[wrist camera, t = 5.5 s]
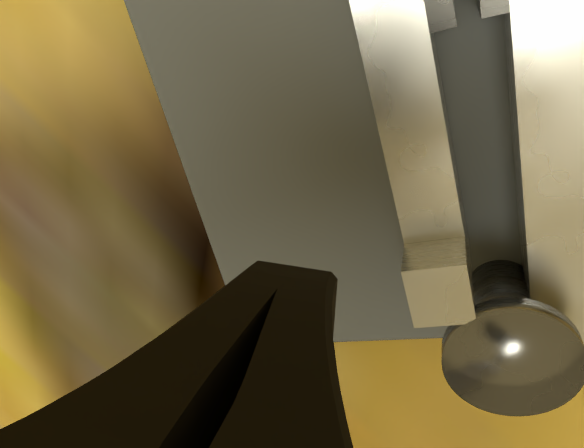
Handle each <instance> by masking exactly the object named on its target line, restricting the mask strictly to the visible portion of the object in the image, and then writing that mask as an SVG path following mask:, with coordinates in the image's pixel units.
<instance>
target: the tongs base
mask: <svg viewBox="0 0 584 448" xmlns="http://www.w3.org/2000/svg"><path fill="white" fill-rule="evenodd" d="M476 4H477V8H478V11H479V14H480V16H481V19H482V18H487V17H491V16H496V15H500V14H503V22H504V35H505V48H506V61H507V74H508V87H509V100H510V113H511V127H512V140H513V153H514V166H515V179H516V192H517V205H518V218H519V231H520V244H521V257H522V266H521V265H520V264H518V263H515V262H512V261H508V260H494V261H489V262H486V263H484V264H482V265H480V266H479V267H477V268H476V269H475V270H474V271H473V272H472V281H473V288H474V295H475V304H477V303H480V302H483V301H487V300H491V299H496V298H506V297H516V298H526V299H532V300H535V301H539V302H542V303H545V304H547V305H550V306H552V307H553V308H555V309H557V310H559V311H560V312H562V313H563V314H564V315H566V316H567V317H568V318H569V319H570V320H571V321H572V322H573V324H574V325H575V326H576V328H577V329H578V331H579V333H580V335H581V338H582V341H583V344H584V0H476Z"/></svg>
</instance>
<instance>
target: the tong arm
mask: <svg viewBox="0 0 584 448" xmlns="http://www.w3.org/2000/svg"><path fill="white" fill-rule="evenodd" d="M349 4H350V8H351V12H352V17H353V21H354V26H355V30H356V34H357V39H358V43H359V48H360V52H361V56H362V61H363V65H364V70H365V74H366V78H367V83H368V87H369V92H370V96H371V100H372V105H373V109H374V114H375V118H376V122H377V127H378V131H379V136H380V140H381V144H382V149H383V153H384V158H385V162H386V166H387V171H388V175H389V180H390V184H391V188H392V193H393V197H394V202H395V206H396V210H397V215H398V219H399V224H400V228H401V232H402V237H403V241H404V249H403V257H402V266H401V275H402V279H403V284H404V288H405V292H406V296H407V301H408V305H409V309H410V313H411V317H412V322H413V326H414V328H424V327H437V326H448V327H447V329H446V331H445V334H444V336H443V340H442V370H443V373H444V376H445V378H446V380H447V382H448V384H449V385H450V387H451V388H452V389H453V391H454V392H455V393H456V394H457V395H458V396H460V397H461V398H462V399H463V400H465V401H466V402H468V403H469V404H471V405H473V406H475V407H477V408H479V409H482V410H484V411H487V412H491V413H495V414H499V415H506V416H530V415H536V414H541V413H545V412H548V411H551V410H553V409H556V408H558V407H560V406H562V405H564V404H565V403H567V402H568V401H570V400H571V399H572V398H573V397H574V396H575V395H576V394H577V393H578V392H579V391H580V390H581V388H582V387H583V385H584V344H583V341H582V338H581V335H580V333H579V331H578V329H577V328H576V326H575V325H574V324H573V322H572V321H571V320H570V319H569V318H568V317H567V316H566V315H564V314H563V313H562V312H560V311H559V310H557V309H555V308H553V307H552V306H550V305H547V304H545V303H542V302H539V301H535V300H532V299H526V298H516V297H506V298H496V299H491V300H487V301H483V302H480V303H477V304H475V295H474V288H473V281H472V269H471V256H470V245H469V239H468V233H467V227H466V222H465V216H464V210H463V204H462V198H461V192H460V186H459V180H458V174H457V169H456V163H455V157H454V151H453V145H452V139H451V133H450V127H449V121H448V116H447V110H446V104H445V98H444V92H443V86H442V80H441V74H440V68H439V63H438V57H437V51H436V45H435V39H434V32H438V31H442V30H446V29H450V28H454V27H457V22H456V14H455V7H454V1H453V0H349Z"/></svg>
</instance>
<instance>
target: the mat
mask: <svg viewBox="0 0 584 448" xmlns="http://www.w3.org/2000/svg"><path fill="white" fill-rule="evenodd" d="M453 1H454V7H455V14H456V22H457V27H454V28H450V29H446V30H442V31H438V32H434V39H435V45H436V51H437V57H438V63H439V68H440V74H441V80H442V86H443V92H444V98H445V104H446V110H447V116H448V121H449V127H450V133H451V139H452V145H453V151H454V157H455V163H456V169H457V174H458V180H459V186H460V192H461V198H462V204H463V210H464V216H465V222H466V227H467V233H468V239H469V245H470V256H471V269H472V272H473V271H474V270H475V269H476V268H477V267H479V266H480V265H482V264H484V263H486V262H489V261H494V260H508V261H512V262H515V263H518V264H520V265H521V266H522V257H521V244H520V231H519V218H518V205H517V192H516V179H515V166H514V153H513V140H512V127H511V113H510V100H509V87H508V74H507V61H506V48H505V35H504V22H503V14H500V15H496V16H491V17H487V18H482V19H481V16H480V14H479V11H478V8H477V4H476V0H453ZM124 2H125V5H126V8H127V10H128V13H129V16H130V19H131V22H132V24H133V27H134V30H135V33H136V36H137V38H138V41H139V44H140V47H141V50H142V52H143V55H144V58H145V61H146V64H147V67H148V69H149V72H150V75H151V78H152V81H153V83H154V86H155V89H156V92H157V95H158V97H159V100H160V103H161V106H162V109H163V111H164V114H165V117H166V120H167V123H168V126H169V128H170V131H171V134H172V137H173V140H174V142H175V145H176V148H177V151H178V154H179V156H180V159H181V162H182V165H183V168H184V170H185V173H186V176H187V179H188V182H189V185H190V187H191V190H192V193H193V196H194V199H195V201H196V204H197V207H198V210H199V213H200V215H201V218H202V221H203V224H204V227H205V229H206V232H207V235H208V238H209V241H210V244H211V246H212V249H213V252H214V255H215V258H216V260H217V263H218V266H219V269H220V272H221V274H222V277H223V280H224V283H225V285H227V284H228V283H229V282H230V281H232V280H233V279H234V278H235V277H237V276H238V275H239V274H240V273H242V272H243V271H244V270H246V269H247V268H248V267H250V266H251V265H252V264H254V263H255V262H256V261H265V262H272V263H278V264H285V265H291V266H298V267H304V268H311V269H317V270H324V271H331V272H332V273H333V274H334V275H335V276H336V278H337V279H338V281H337V294H336V308H335V321H334V334H333V342H347V341H373V340H399V339H425V338H443V336H444V334H445V331H446V329H447V327H448V326H437V327H424V328H414V326H413V322H412V317H411V313H410V309H409V305H408V301H407V296H406V292H405V288H404V284H403V279H402V275H401V266H402V257H403V249H404V241H403V237H402V232H401V228H400V224H399V219H398V215H397V210H396V206H395V202H394V197H393V193H392V188H391V184H390V180H389V175H388V171H387V166H386V162H385V158H384V153H383V149H382V144H381V140H380V136H379V131H378V127H377V122H376V118H375V114H374V109H373V105H372V100H371V96H370V92H369V87H368V83H367V78H366V74H365V70H364V65H363V61H362V56H361V52H360V48H359V43H358V39H357V34H356V30H355V26H354V21H353V17H352V12H351V8H350V4H349V0H124Z"/></svg>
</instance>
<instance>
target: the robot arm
mask: <svg viewBox="0 0 584 448" xmlns="http://www.w3.org/2000/svg"><path fill="white" fill-rule="evenodd" d="M337 281H338V279H337V278H336V276H335V275H334V274H333V273H332V272H331V271H324V270H317V269H311V268H304V267H298V266H291V265H285V264H278V263H272V262H265V261H256V262H255V263H254V264H252V265H251V266H250V267H248V268H247V269H246V270H244V271H243V272H242V273H240V274H239V275H238V276H237V277H235V278H234V279H233V280H232V281H230V282H229V283H228V284H227V285H225V286H224V287H223V288H221V289H220V290H219V291H218V292H216V293H215V294H214V295H213V296H211V297H210V298H209V299H208V300H206V301H205V302H204V303H202V304H201V305H200V306H199V307H197V308H196V309H195V310H193V311H192V312H190V313H189V314H188V315H186V316H185V317H184V318H182V319H181V320H180V321H178V322H177V323H176V324H174V325H173V326H172V327H170V328H169V329H168V330H166V331H165V332H164V333H162V334H161V335H159V336H158V337H157V338H155V339H154V340H152V341H151V342H149V343H148V344H146V345H145V346H143V347H142V348H140V349H139V350H137V351H136V352H134V353H133V354H132V355H130V356H129V357H127V358H126V359H124V360H123V361H121V362H120V363H118V364H117V365H115V366H114V367H112V368H111V369H109V370H107V371H106V372H104V373H102V374H101V375H99V376H98V377H96V378H94V379H93V380H91V381H89V382H88V383H86V384H84V385H83V386H81V387H79V388H77V389H76V390H74V391H72V392H70V393H68V394H67V395H65V396H63V397H61V398H59V399H58V400H56V401H54V402H52V403H51V404H49V405H47V406H45V407H43V408H42V409H40V410H38V411H36V412H34V413H32V414H30V415H28V416H27V417H25V418H22V419H20V420H18V421H16V422H14V423H12V424H10V425H8V426H6V427H4V428H2V429H0V448H353V445H352V441H351V437H350V433H349V429H348V424H347V420H346V415H345V410H344V406H343V401H342V396H341V391H340V385H339V379H338V373H337V366H336V358H335V350H334V342H333V334H334V321H335V308H336V294H337Z"/></svg>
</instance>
